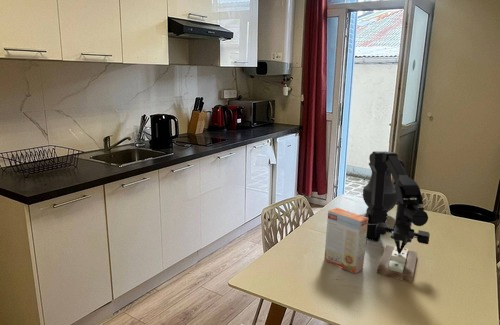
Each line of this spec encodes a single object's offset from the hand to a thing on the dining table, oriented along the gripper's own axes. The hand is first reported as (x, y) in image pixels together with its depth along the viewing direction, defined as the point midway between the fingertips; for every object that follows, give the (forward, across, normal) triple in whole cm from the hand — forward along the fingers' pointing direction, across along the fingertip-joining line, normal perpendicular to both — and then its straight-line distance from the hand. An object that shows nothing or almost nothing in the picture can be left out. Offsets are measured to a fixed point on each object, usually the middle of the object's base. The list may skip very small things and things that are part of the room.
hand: (399, 253), depth 140 cm
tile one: (+4, 0, -7) cm, 8 cm away
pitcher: (+5, -14, +53) cm, 55 cm away
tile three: (+4, 0, +7) cm, 8 cm away
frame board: (+5, 0, 0) cm, 5 cm away
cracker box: (+5, -18, -11) cm, 22 cm away
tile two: (+3, 0, 0) cm, 3 cm away
